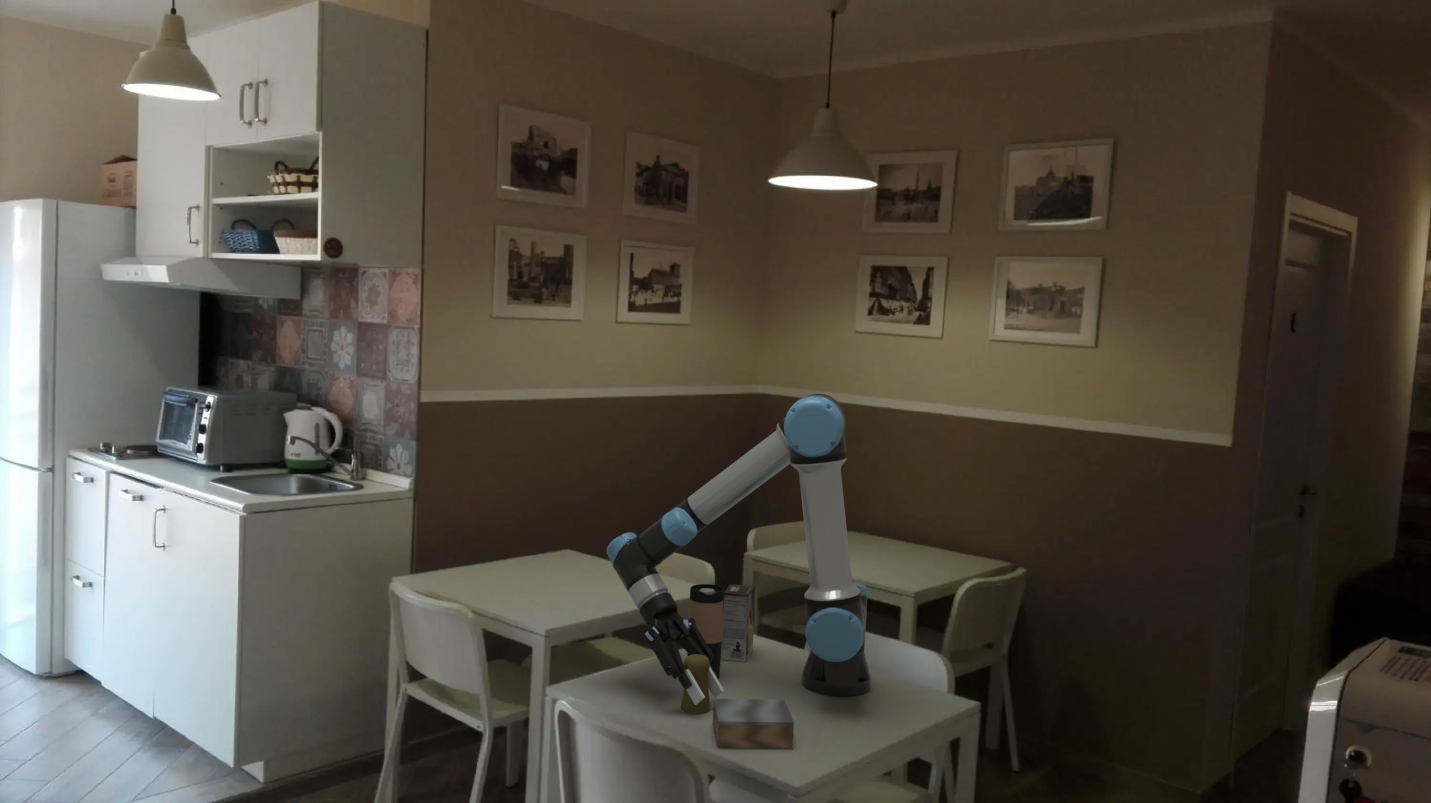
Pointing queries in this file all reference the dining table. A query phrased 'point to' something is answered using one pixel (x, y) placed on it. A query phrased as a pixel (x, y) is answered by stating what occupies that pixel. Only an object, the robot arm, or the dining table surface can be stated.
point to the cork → (699, 671)
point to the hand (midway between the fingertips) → (709, 697)
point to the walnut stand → (752, 723)
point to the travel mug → (709, 617)
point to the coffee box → (738, 622)
